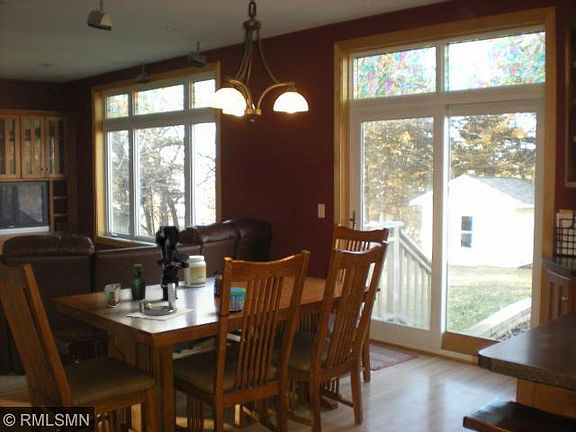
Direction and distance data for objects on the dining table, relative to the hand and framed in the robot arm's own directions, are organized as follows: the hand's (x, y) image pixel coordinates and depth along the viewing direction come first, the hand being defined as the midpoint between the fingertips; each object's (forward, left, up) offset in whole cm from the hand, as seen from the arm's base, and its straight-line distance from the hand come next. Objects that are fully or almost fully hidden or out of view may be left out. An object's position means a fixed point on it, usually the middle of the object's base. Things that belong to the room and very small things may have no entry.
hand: (174, 280), depth 315 cm
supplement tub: (-22, +50, -13) cm, 56 cm away
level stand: (+4, -17, -12) cm, 21 cm away
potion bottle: (-27, +6, -13) cm, 31 cm away
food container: (-29, -12, -13) cm, 34 cm away
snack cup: (+33, +2, -13) cm, 35 cm away
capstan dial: (+4, -17, -12) cm, 21 cm away
